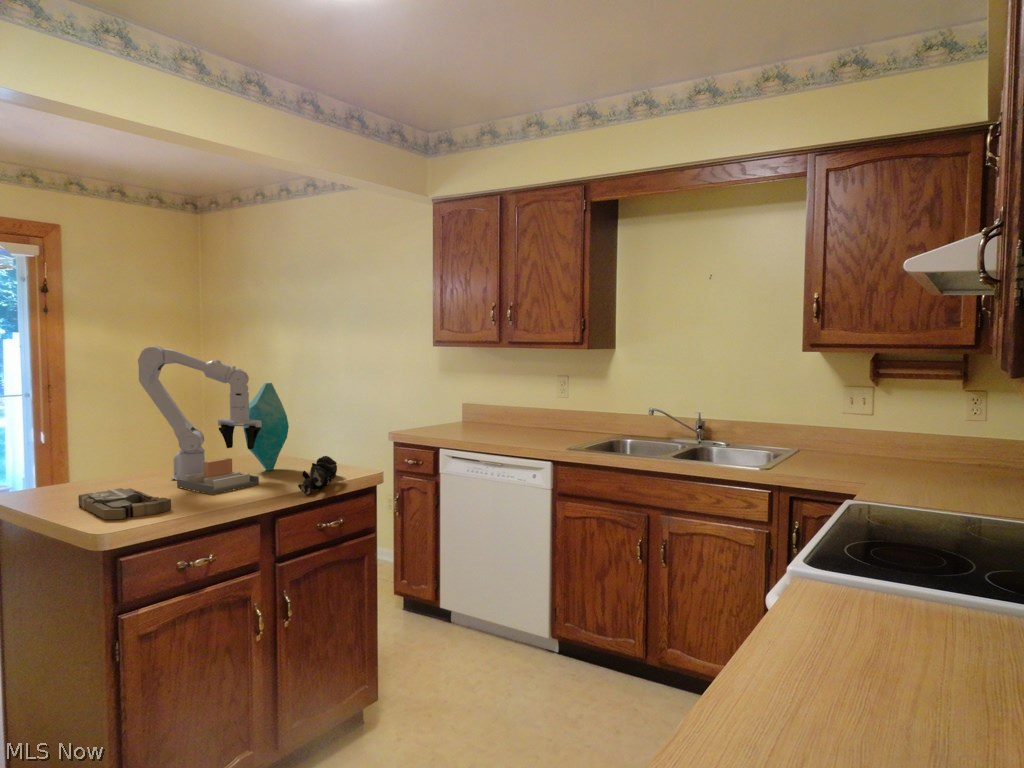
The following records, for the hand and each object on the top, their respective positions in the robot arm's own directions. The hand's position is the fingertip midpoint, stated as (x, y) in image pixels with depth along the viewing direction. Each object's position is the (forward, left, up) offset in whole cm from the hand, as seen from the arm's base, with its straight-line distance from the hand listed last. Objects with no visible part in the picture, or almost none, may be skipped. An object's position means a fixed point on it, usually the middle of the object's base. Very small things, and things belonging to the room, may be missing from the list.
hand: (240, 448), depth 211 cm
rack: (+6, -12, -9) cm, 16 cm away
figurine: (+30, +7, -10) cm, 32 cm away
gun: (+10, -42, -10) cm, 44 cm away
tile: (+6, -12, -8) cm, 16 cm away
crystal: (-2, +12, -10) cm, 15 cm away
